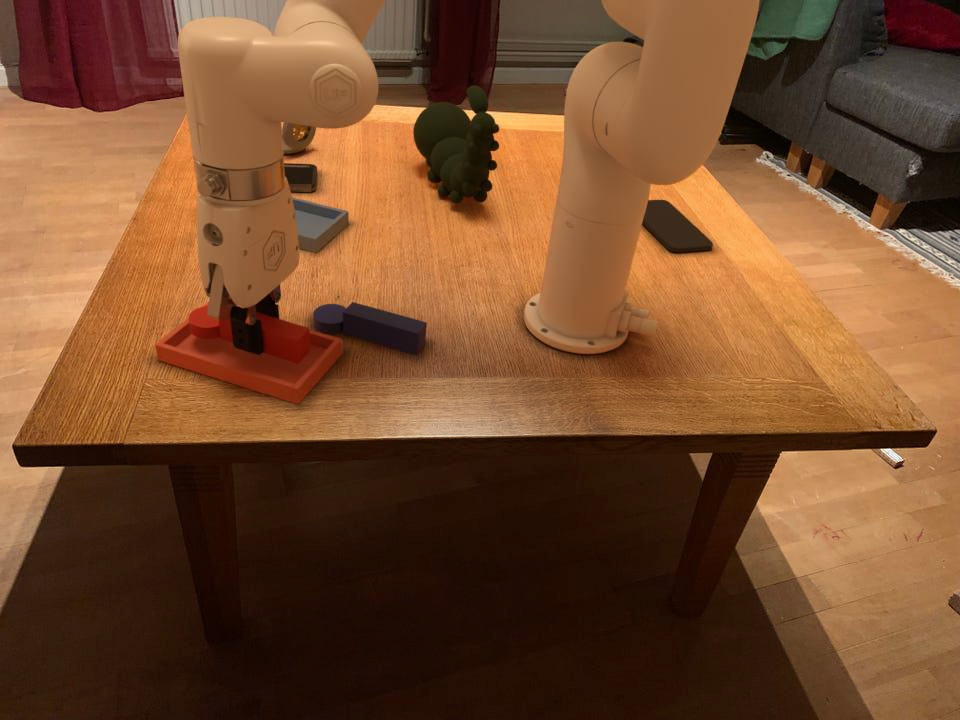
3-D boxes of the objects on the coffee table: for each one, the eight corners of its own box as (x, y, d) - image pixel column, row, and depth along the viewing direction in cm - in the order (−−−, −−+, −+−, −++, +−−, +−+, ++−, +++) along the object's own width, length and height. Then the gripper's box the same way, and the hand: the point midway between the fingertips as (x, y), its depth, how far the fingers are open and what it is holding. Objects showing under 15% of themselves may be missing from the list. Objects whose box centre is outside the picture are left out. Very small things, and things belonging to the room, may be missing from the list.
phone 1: (216, 160, 112) (317, 164, 115) (217, 167, 113) (317, 170, 116) (209, 182, 106) (315, 185, 109) (210, 189, 107) (315, 192, 109)
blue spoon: (428, 340, 83) (429, 318, 81) (414, 360, 80) (415, 337, 78) (324, 311, 86) (323, 289, 84) (307, 328, 82) (305, 306, 81)
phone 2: (671, 248, 104) (625, 201, 116) (670, 253, 105) (624, 205, 116) (716, 245, 107) (666, 199, 118) (714, 250, 107) (665, 203, 118)
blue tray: (348, 224, 103) (348, 211, 102) (316, 253, 96) (315, 239, 95) (247, 198, 106) (245, 185, 105) (208, 224, 99) (206, 210, 98)
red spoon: (314, 347, 77) (313, 323, 75) (294, 368, 73) (293, 344, 72) (205, 313, 79) (202, 289, 77) (181, 332, 76) (178, 308, 74)
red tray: (342, 353, 79) (342, 338, 78) (298, 404, 72) (297, 389, 71) (212, 315, 83) (209, 300, 82) (157, 360, 76) (154, 344, 74)
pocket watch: (270, 138, 124) (265, 78, 118) (320, 144, 125) (318, 83, 119) (257, 157, 118) (251, 94, 112) (310, 162, 118) (307, 100, 112)
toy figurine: (503, 226, 111) (452, 147, 127) (524, 104, 98) (464, 34, 115) (443, 231, 107) (399, 150, 124) (457, 106, 95) (406, 34, 112)
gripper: (223, 219, 58) (245, 398, 69) (323, 152, 70) (328, 312, 81) (142, 197, 59) (176, 375, 70) (254, 135, 72) (268, 295, 83)
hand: (257, 340), depth 76 cm, fingers closed on red spoon, 2 cm apart
